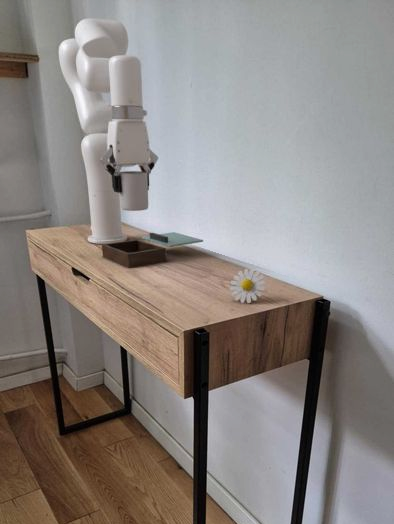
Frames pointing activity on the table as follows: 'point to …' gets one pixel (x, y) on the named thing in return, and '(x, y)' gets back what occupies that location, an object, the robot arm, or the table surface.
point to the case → (134, 253)
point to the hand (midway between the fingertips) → (131, 190)
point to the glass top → (171, 239)
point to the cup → (134, 190)
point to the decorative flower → (247, 285)
